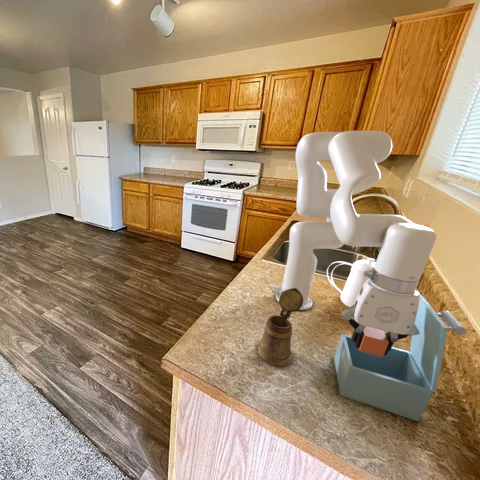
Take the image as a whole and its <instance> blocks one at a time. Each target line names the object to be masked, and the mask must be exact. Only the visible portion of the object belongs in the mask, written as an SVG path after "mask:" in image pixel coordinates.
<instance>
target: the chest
mask: <svg viewBox="0 0 480 480" xmlns="http://www.w3.org/2000/svg"><path fill="white" fill-rule="evenodd" d="M333 360H334V367H335V372H336V379H337V385H338V390H339V395H340V396H342V397H345V398H348V399H350V400H353V401H357V402H359V403H362V404H365V405H368V406H371V407H374V408H377V409H380V410H383V411H386V412H388V413H389V412H390V413H392V414H395V415H398V416H401V417H403V418H407V419H409V420H413V421H415V422H419V421H420V419H421V417H422V415H423V413H424V412H425V410H426V408H427V405H428V404H429V401H430V400H431V398H432V396H433V394H434V391H432V390H431V388H430V386H429V385H428V383H427V381H426V379H425V377H424V375H423V373H422V371H421V370H420V368H419V366H418V364H417V362H416V360H415V358H414V356H413V355H412V353H411V351H410V350H406V349H402V348H399V347H395V346H392V348H391V351H388V353H387V355H384V356H383V357H379V356H376V355H372V354H368V353H365V352H361V351H359V348H357V347H355V343H354V341H352V335H348V334H344V333H341V335H340V339H339V341H338V346H337V348H336V352H335V355H334V358H333Z"/></svg>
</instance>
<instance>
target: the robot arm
mask: <svg viewBox="0 0 480 480" xmlns="http://www.w3.org/2000/svg"><path fill="white" fill-rule="evenodd" d="M392 149H393V141H392V138H391V136H390V135H389V134H388V133H386V132H385V131H382V130H346V131H317V132H310V133H308V134H305V135H304V136H302V137H301V138H300V140H299V141H298V143H297V146H296V149H295V165H296V170H297V189H296V205H295V206H296V207H295V208H296V212H297V214H298V215H299V216H300V217H306V218H326V221H325V220H324V221H320V220H302V221H297V222H295V223H294V224H292V226H290V229H289V233H288V234H289V236H288V238H289V241H288V242H289V244H288V245H289V247H288V253H287V254H288V255H287V260H286V265H285V270H284V276H283V280H282V284H281V285H273V284H269V285H268V290H270V291H271V293H272V294H275V299H276V300H277V302H279V299H280V296H281V294H282V292H283V291H285V290H288V289H292V288H297V289H298V290H299V292H300V293H301V294H302V297H303V304H302V306H301V308H300V309H299V310H298V311H306V310H309V309H311V308H312V307H313V299H312V298H310V295H311V291H312V286H313V283H314V279H315V274H316V270H317V266H318V258H317V255H316V254H315V253H314V250H319V249H320V250H322V249H324V250H335V249H336V250H337V249H340V248H342V247H343V246H344V245H345V246H349V247H358V248H359V247H367V248H368V247H369V248H370V247H371V248H374V247H376V248H380V249H379V252H378V255H377V258H376V260H375V262H376V264H375V267H374V268H373V269H372V270H371V271H365V272H364V277H368V278H370V279H367V280H366V282H365V283H364V284H363V286H362V288H361V290H360V291H359V293H358V296H357V298H356V300H355V303H354V305H353V306H351V307H348V308H346V309H344V310H342V311H341V312H340V314H341V317H342V318H343V319H344V320H345V321H346V322H348V323H349V325H350V326H351V327H352V329H353V332H352V335H351V336H352V341H354V343H355V347H357V348H359V347H360V344H361V341H362V338H363V330H364V329H365V328H366V326H367V327H371V328H375V329H380V330H384V332H385V334H386V337H387V339H388V341H389V343H388V346H387V349H386V351H385V354H384V355H387V353H388V351H391V348H392V347H394V343H397V342H398V341H399V340H402V339H405V338H407V337H412V336H413V335H418V334H419V333H420V332H419V331H418V329H417V327H416V325H415V324H414V322H415V319H416V315H417V311H418V306H419V298H420V295H421V294H420V292H419V290H417V288H418V286H419V283H420V280H421V277H422V275H423V273H424V271H425V268H426V265H427V263H428V260H429V258H430V256H431V254H432V250H433V248H434V246H435V243H436V240H437V233H436V231H435V230H434V229H432V228H430V227H427V226H424V225H420V224H416V223H414V222H412V221H411V220H409V219H407V217H404V216H402V215H398V214H379V213H357V211H356V209H355V206H354V204H353V200H352V199H353V197H352V196H355V195H357V194H360V193H362V192H364V191H367V190H369V189H371V188H372V187H374V186H375V185H376V184H378V182H379V181H380V179H381V177H382V175H381V174H382V173H381V171H380V169H379V167H378V164H379V163H381V162H384V161H385V160H386V159H387V158H388V157H389V156H390V154H391V152H392ZM320 161H327V162H329V161H330V162H331V164H332V166H333V170H334V172H335V175H336V179H337V181H338V184H339V187H338V189H337V188H334V189H333V188H329V189H328V188H327V182H328V174H327V171H326V169H325V167H324V166H323V165H322V164H321V163H320Z"/></svg>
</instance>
